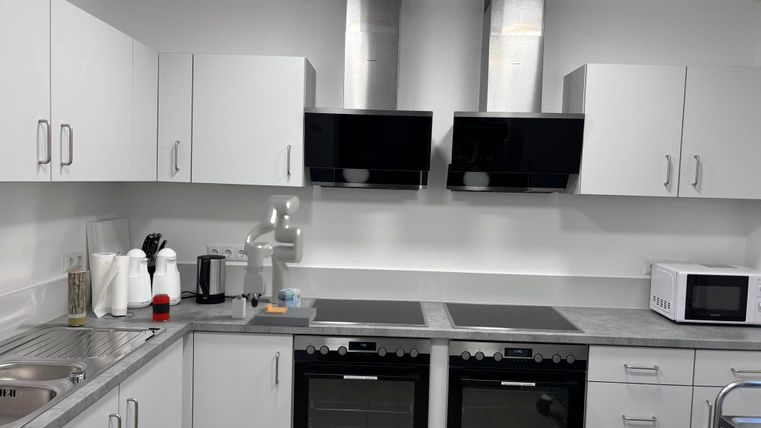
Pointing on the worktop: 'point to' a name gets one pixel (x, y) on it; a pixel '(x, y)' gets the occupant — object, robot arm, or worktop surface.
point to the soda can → (161, 307)
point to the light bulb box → (289, 297)
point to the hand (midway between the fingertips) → (254, 306)
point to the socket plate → (286, 317)
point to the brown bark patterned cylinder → (76, 297)
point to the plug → (239, 307)
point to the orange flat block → (274, 309)
